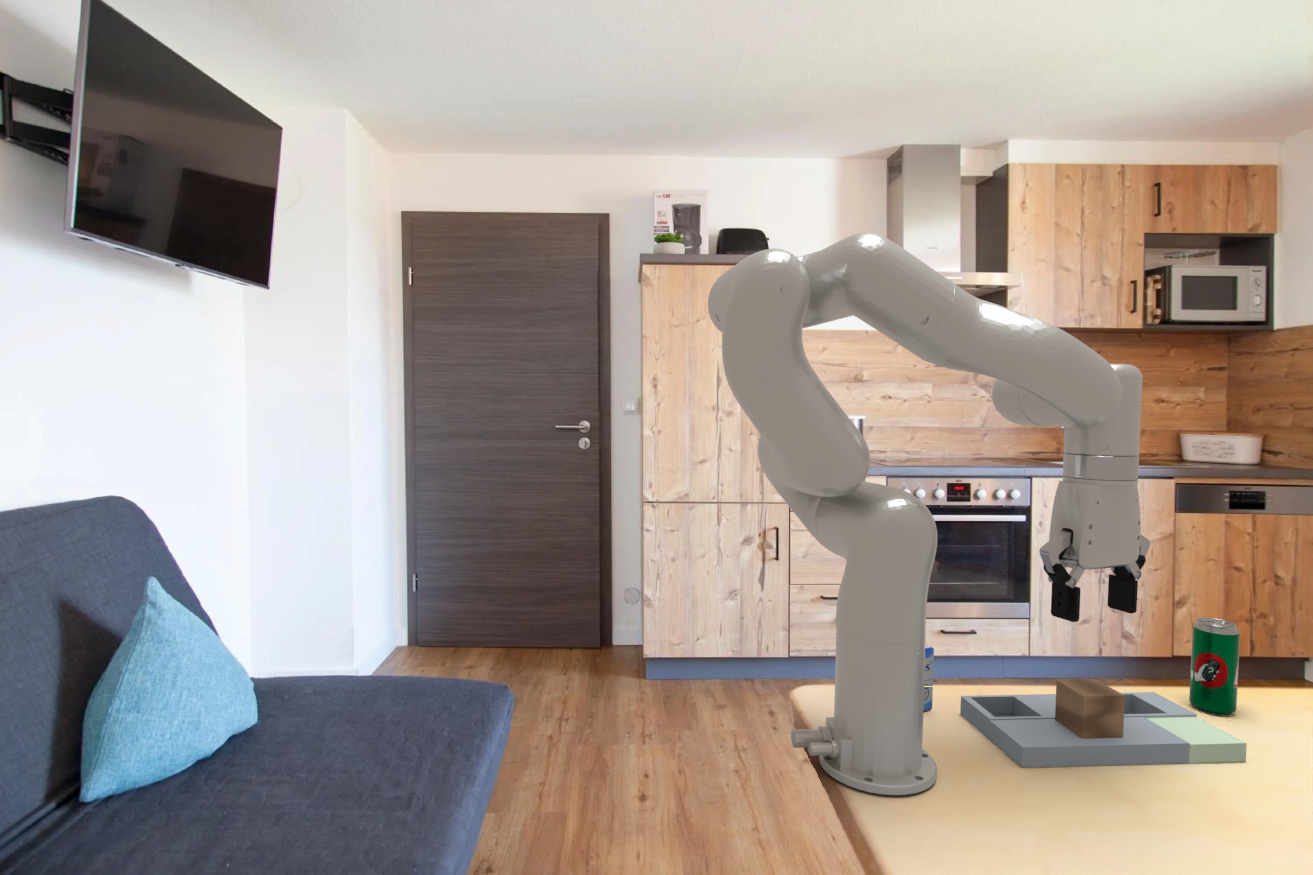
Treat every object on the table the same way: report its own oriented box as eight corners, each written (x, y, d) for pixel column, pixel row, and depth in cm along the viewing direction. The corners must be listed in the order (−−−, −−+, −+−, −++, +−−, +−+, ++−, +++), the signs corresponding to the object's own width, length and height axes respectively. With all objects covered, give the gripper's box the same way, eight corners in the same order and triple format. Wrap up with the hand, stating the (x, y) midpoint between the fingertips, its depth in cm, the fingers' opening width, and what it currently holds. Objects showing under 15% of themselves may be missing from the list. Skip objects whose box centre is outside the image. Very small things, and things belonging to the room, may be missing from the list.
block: (1082, 738, 83) (1083, 696, 83) (1055, 719, 88) (1056, 679, 88) (1123, 737, 84) (1124, 695, 84) (1093, 718, 89) (1095, 678, 89)
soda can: (1244, 718, 95) (1249, 629, 94) (1201, 715, 96) (1205, 626, 95) (1222, 703, 100) (1227, 617, 99) (1181, 699, 101) (1185, 615, 100)
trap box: (1022, 767, 81) (1023, 745, 81) (960, 714, 95) (961, 695, 95) (1245, 761, 83) (1246, 740, 83) (1153, 710, 97) (1154, 691, 97)
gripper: (1118, 465, 91) (1112, 599, 92) (1018, 468, 84) (1013, 613, 85) (1181, 471, 84) (1174, 615, 85) (1077, 475, 77) (1071, 631, 78)
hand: (1093, 614), depth 85 cm, fingers open, 9 cm apart
